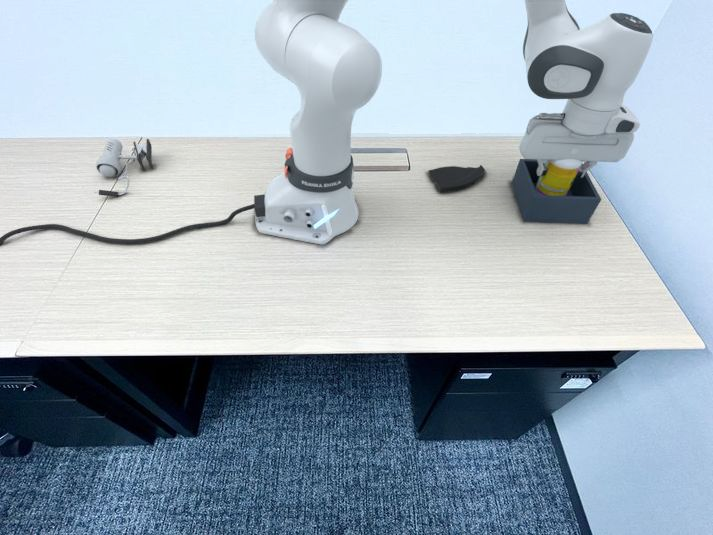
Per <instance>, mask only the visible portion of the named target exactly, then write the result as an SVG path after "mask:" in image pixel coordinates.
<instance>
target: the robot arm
mask: <svg viewBox="0 0 713 535" xmlns="http://www.w3.org/2000/svg"><path fill="white" fill-rule="evenodd" d="M348 2H349V0H272V1H271V2H270V3H269V4H268V5H266V6H265V7H264V8H263V9H262V11H261V12H260V14H259V15H258V17H257V19H256V22H255V26H254V40H255V45H256V47H257V49H258V51H259V53H260V55H261V56H262V58H263V59H264V60H265V61H266V63H267V64H268V65H269V66H270V67H271V69H272V70H274V71H275V72H276V73H277V74H278V75H280V76H282V77H283V78H284V79H287V80H288V81H289V82H291V83H293V84H294V85H295V86H296V87H297V90H298V92H299V95H300V109H299V110H298V111H297V112H296V113H295V114H294V115H293V116H292V118H291V120H290V123H289V134H290V141H291V147H288V148H287V149H286V152H285V162H284V171H283V172H281V173H280V174H278V175H276V176H274V177H273V178H272V179H271V180H270V182H269V183H268V185H267V188H266V190H265V193H264V194H256V195H255V194H254V196H253V203H252V204H249V205H245V206H243V207H240V208H237V209H236V210H233V211H232V212H231V213H230V214H229V216H228V217H227V218H225V219H222V220H219V221H215V222H205V223H194V224H189V225H186V226H182V227H179V228H176V229H174V230H171V231H168V232H165V233H162V234H159V235H155V236H151V237H144V238H143V237H142V238H130V239H128V238H127V239H126V238H113V237H106V236H101V235H98V234H94V233H91V232H87V231H83V230H79V229H75V228H72V227H69V226H67V225H63V224H57V223H48V224H47V223H46V224H38V225H30V226H24V227H20V228H17V229H13V230H11V231H8V232H7V233H5V234H3V235H2V236H0V246H2V244H3V243H4V242H5V241H6V240H8V239H9V238H11V237H13V236H16V235H17V234H22V233H26V232H31V231H38V230H46V229H56V230H57V229H58V230H62V231H66V232H68V233H71V234H75V235H78V236H81V237H86V238H89V239H93V240H96V241H100V242H105V243H109V244H110V243H111V244H122V245H123V244H127V245H135V244H146V243H151V242H156V241H161V240H164V239H167V238H169V237H172V236H174V235H175V236H176V235H178V234H181V233H183V232H187V231H191V230H194V229H202V228H204V229H205V228H214V227H220V226H224V225H226V224H228V223H230V222H232V221H233V220H234V218H235V217H236V216H237V215H239V214H241V213H245V212H247V211H250V210H252V209H254V213H255V216H254V218H255V220H254V222H255V227H256V229H257V231H258V233H260V234H263V235H269V236H274V237H280V238H284V239H289V240H295V241H300V242H306V243H311V244H316V245H326V244H328V243H330V241H331V240H333V239H334V238H335V237H336V236H339V235H342V234H343V233H346V232H347V231H349V230H351V229H352V228H353V227H354V226H355V225H356V223H357V221H358V219H359V215H360V211H359V207H358V206H357V203H356V202H357V201H356V198H355V195H354V189H353V188H354V187H353V186H354V185H353V184H354V181H355V180H354V178H355V164H354V158H353V155H352V126H353V125H352V124H353V120H354V117H355V114H356V112H357V110H359V109H362V108H363V107H365V105H367V104H368V103H369V102H370V101H371V100H372V99H373V98H374V96H375V94H376V93H377V91H378V89H379V86H380V84H381V80H382V74H383V61H382V57H381V54H380V52H379V51H378V49H377V48H376V47H375V46H374V45H373V43H371V42H370V41H369V40H368V39H367V38H366V37H364V35H362V34H361V32H359V31H358V30H356V29H355V28H354V27H351V26H349V25H346V24H344V23H342V22H340V21H339V19H340V16H341V14H342V12H343V10H344V8H345V6H346V5H347V4H348ZM524 5H525V10H526V16H527V28H526V31H525V35H524V40H523V44H522V56H523V60H524V63H525V74H526V80H527V84H528V87H529V89H530V91H531V92H532V93H533V94H534V95H536V96H537V97H539V98H542V99H545V100H566V103H565V105H564V108H563V110H562V113H561V112H559V113H558V112H554V113H553V112H552V113H547V112H540V113H539V114H537V115H533V117H531V118H530V119H529V120H528V124H527V126H526V131H525V133H524V134H523V137H522V138H521V141H520V143H519V146H518V149H519V150H518V151H519V153H520V155H521V157H522V159H535V160H537V161H538V165H539V166H538V169H537V175H538V176H546V173H547V171H548V169H547V168H546V165H543V163H546V161H547V160H564V159H575V160H579V161H583V163H582V164H583V165H581V167H580V169H579V171H578V173H577V175H576V177H580V178H583V177H584V175H585V173H586V172H587V173H588V171H590V170H591V169H593V168H594V167H595V166H596V165H597V163H619V162H620V161H621V160H623V159H624V158H625V157H626V155H627V154H628V152H629V151H630V148H631V146H632V144H633V142H634V140H635V133H636V132H637V131H638V130H639V128H640V126H641V123H640V121H639V119H638V118H637V116H636V115H635V114H634V112H633V111H632V110H631V109H630V108H629V107H628V106H626V105H624V104H623V103H624V98H625V95H626V93H627V92H628V89H630V87H632V85H633V84H634V83H635V81H636V79H637V77H638V76H639V73H640V71H641V69H642V67H643V65H644V63H645V60H646V59H647V56H648V54H649V51H650V48H651V46H652V42H653V39H654V34H653V30H652V29H651V28H650V26H649V24H647V23H646V21H644V20H642V19H640V18H639V17H637V16H634V15H632V14H630V13H629V14H628V13H624V12H613V13H610V14H609V15H608V16H606V17H605V18H603V19H602V20H600V21H598V22H595V23H593V24H591V25H589V26H585V27H583V28H580V26H579V23H578V21H577V20H576V19H575V18H574V16H573V15H572V14H571V13H570V12H569V10H568V7H567V3H566V0H524ZM573 149H580V150H579V152H578V154H571V152H572V150H573Z"/></svg>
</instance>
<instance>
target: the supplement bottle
mask: <svg viewBox="0 0 713 535" xmlns="http://www.w3.org/2000/svg"><path fill="white" fill-rule="evenodd" d="M579 150H580V149H573V150H572V152H571V154H578V152H579ZM582 164H584V161H579V160H575V159H564V160H547V161H546V163H545V165H546V168H547V169H548V171H547V173H546V176H540V177H539V180H538V182H537V184H536V187H535V191H536V193H537V195H553V196H566V194H567V193H568V191H569V189H570V187H571V185H572V183H573V181H574V179H575V177H576V175H577V173H578V171H579V169H580V167H581V165H582Z"/></svg>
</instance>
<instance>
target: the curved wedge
mask: <svg viewBox="0 0 713 535" xmlns="http://www.w3.org/2000/svg"><path fill="white" fill-rule="evenodd" d="M485 172H486V169H485V168H484V166H483V165H482V164H480V165H479V166H478V167H470V166H467V167H463V166H456V165H455V166H454V165H452V166H441V167H437V168H433V169H429V170H428V175H429V177H430V179H431V180H432V183H434V185H435V186H436V188H437V189H438V192H439V193H441V194H445V193H452V192H453V193H454V192H458V191H461V190H464V189H467V188H469V187H471V186H473V185H475V184H476V183H477V182H478V181H480V180H481V179H482V177H483V176H484V174H485Z"/></svg>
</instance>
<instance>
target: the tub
mask: <svg viewBox="0 0 713 535" xmlns="http://www.w3.org/2000/svg"><path fill="white" fill-rule="evenodd" d="M583 164H584V163H582V165H583ZM543 165H545V163H543ZM538 166H539V165H538V161H537V160H535V159H524V158H520V159H519V161H518V164H517V166H516V169H515V172H514V174H513V177H512V180H511V186H512V190H513V192H514V196H515V199H516V202H517V205H518V209H519V212H520V215H521V217H522V220H523V222H527V223H528V222H529V223H550V224H551V223H553V224H554V223H555V224H575V225H577V224H578V225H579V224H581V225H587V224H588V223H589V221H591V218H592V216H593V215H594V213H595V212H596V210H597V208H598V207H599V205H600V203H601V201H602V197H601V196H600V194H599V192H598V190H597V189H596V186H595V184H594V183H593V181H592V179H591V177H590V175H589V173H588V171H587V172H586V173H585V175H584V177H583V178H580V177H575V179H574V181H573V183H572V185H571V187H570V189H569V191H568V193H567V194H566V196H553V195H537V193H536V191H535V187H536V184H537V182H538V180H539V177H540V176H538V175H537V169H538Z"/></svg>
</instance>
